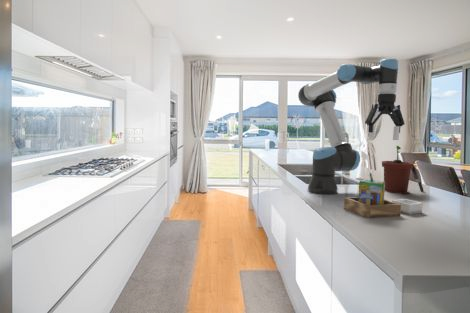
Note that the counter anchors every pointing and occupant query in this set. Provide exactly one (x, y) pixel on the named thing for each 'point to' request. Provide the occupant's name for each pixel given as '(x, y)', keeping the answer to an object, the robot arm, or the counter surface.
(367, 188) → the chalk box
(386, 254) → the counter surface
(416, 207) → the white tub
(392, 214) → the crate
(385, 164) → the potted plant
